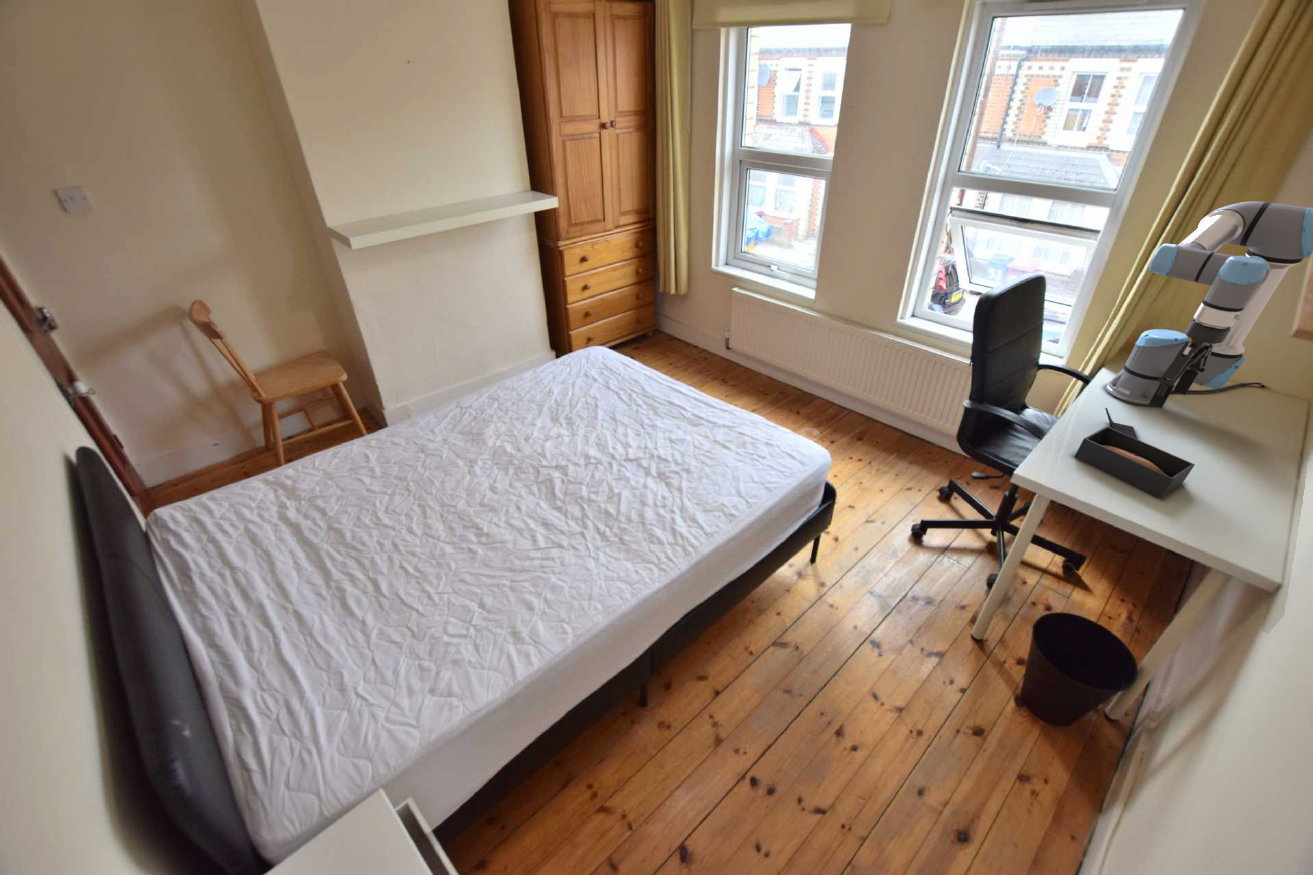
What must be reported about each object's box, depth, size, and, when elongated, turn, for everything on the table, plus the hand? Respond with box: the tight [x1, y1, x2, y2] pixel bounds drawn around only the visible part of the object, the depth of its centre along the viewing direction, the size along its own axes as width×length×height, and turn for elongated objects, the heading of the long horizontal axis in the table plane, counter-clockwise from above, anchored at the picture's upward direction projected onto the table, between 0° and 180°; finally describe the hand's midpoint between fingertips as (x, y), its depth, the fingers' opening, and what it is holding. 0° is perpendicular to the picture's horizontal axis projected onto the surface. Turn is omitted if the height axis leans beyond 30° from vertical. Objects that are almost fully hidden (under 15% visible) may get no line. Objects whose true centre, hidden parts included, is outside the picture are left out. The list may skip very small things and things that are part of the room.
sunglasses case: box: [1101, 445, 1167, 475], centre depth 162 cm, size 18×7×7 cm, turn 37°
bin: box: [1074, 425, 1195, 500], centre depth 161 cm, size 13×22×7 cm, turn 31°
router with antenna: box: [1104, 407, 1138, 439], centre depth 177 cm, size 12×7×10 cm
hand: (1167, 399), depth 151 cm, fingers open, 13 cm apart
